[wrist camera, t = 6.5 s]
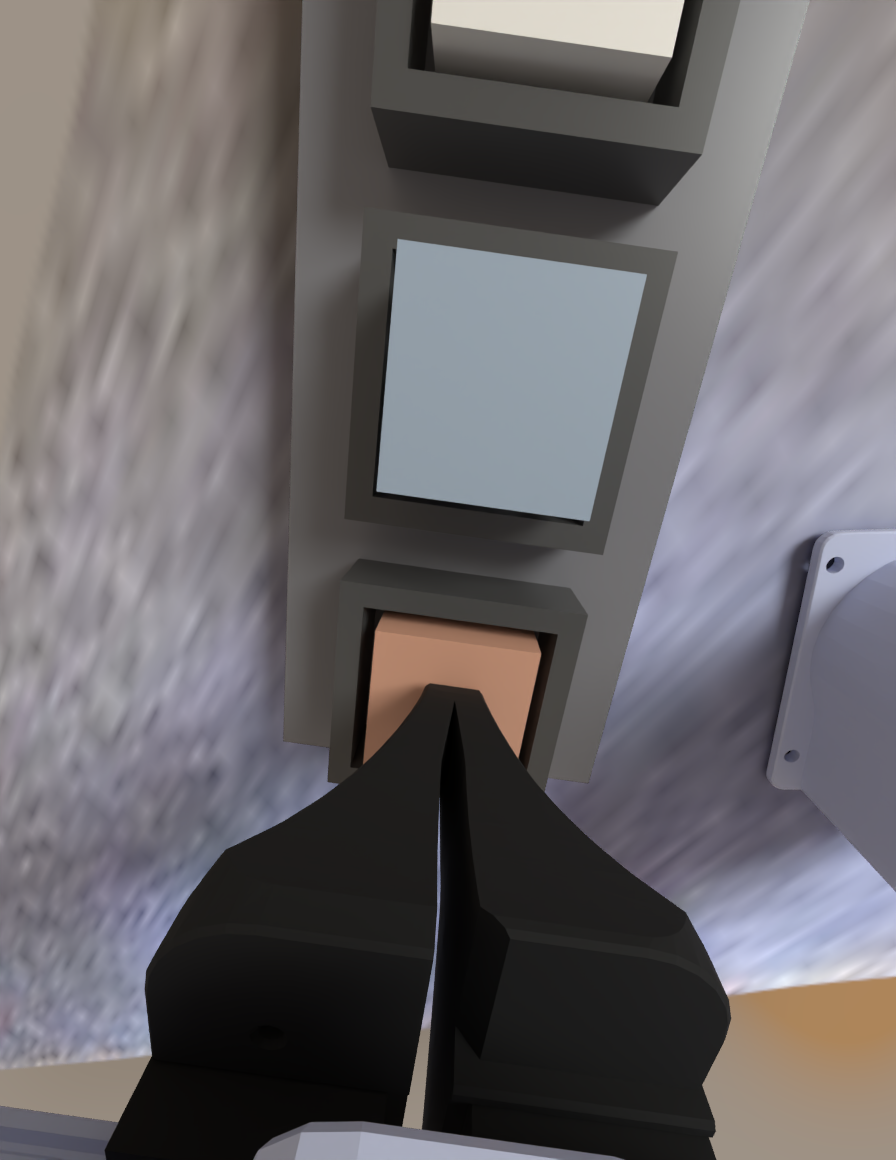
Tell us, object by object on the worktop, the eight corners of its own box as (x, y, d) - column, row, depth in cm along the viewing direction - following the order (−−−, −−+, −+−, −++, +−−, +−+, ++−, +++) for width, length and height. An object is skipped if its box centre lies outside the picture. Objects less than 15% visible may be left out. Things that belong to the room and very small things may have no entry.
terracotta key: (505, 739, 14) (511, 787, 12) (376, 721, 14) (362, 767, 12) (530, 621, 13) (541, 654, 11) (389, 601, 13) (375, 630, 11)
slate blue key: (567, 504, 10) (589, 521, 9) (393, 480, 10) (376, 491, 9) (610, 306, 9) (646, 274, 7) (411, 277, 9) (397, 239, 7)
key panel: (574, 743, 17) (605, 835, 13) (303, 706, 17) (256, 786, 13) (795, -95, 10) (994, -415, 6) (340, -162, 10) (262, -523, 6)
